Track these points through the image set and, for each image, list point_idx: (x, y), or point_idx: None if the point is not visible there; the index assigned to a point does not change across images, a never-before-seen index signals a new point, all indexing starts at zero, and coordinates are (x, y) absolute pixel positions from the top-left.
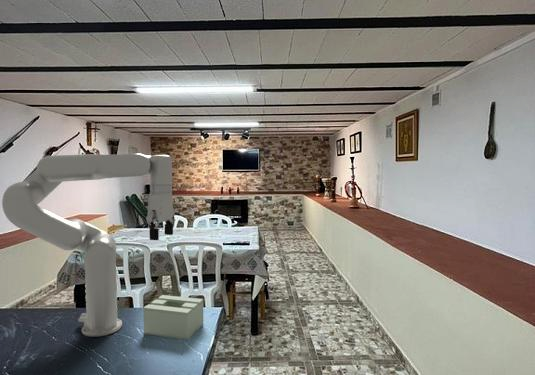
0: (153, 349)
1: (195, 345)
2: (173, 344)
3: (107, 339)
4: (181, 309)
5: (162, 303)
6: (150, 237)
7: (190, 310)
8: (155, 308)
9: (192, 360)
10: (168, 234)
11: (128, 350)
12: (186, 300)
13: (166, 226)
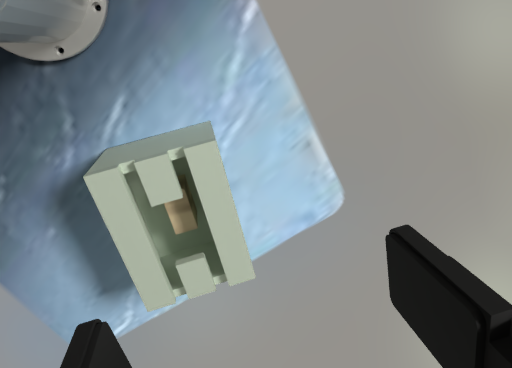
0: (69, 232)
1: None
2: None
3: (8, 78)
4: (155, 283)
5: (153, 203)
6: (75, 350)
7: (166, 305)
8: (107, 216)
9: None
10: (388, 272)
11: (20, 186)
12: (219, 247)
13: (452, 320)
